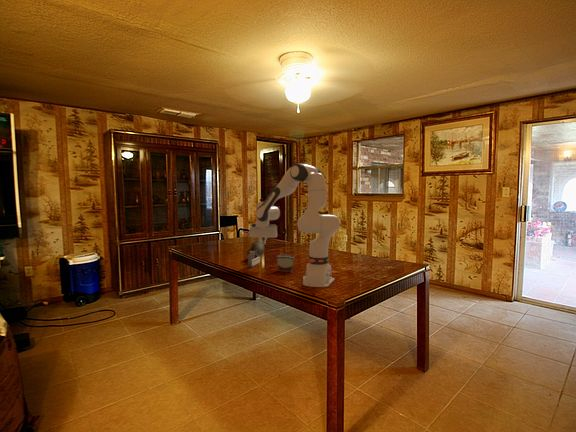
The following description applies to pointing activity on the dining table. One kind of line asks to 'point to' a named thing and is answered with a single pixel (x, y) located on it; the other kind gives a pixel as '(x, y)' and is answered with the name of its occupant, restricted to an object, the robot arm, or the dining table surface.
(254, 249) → the stone
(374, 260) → the dining table surface
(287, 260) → the food container
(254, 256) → the latch stile
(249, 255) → the hinge post
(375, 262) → the dining table surface
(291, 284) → the dining table surface
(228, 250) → the dining table surface
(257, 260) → the gate leaf
